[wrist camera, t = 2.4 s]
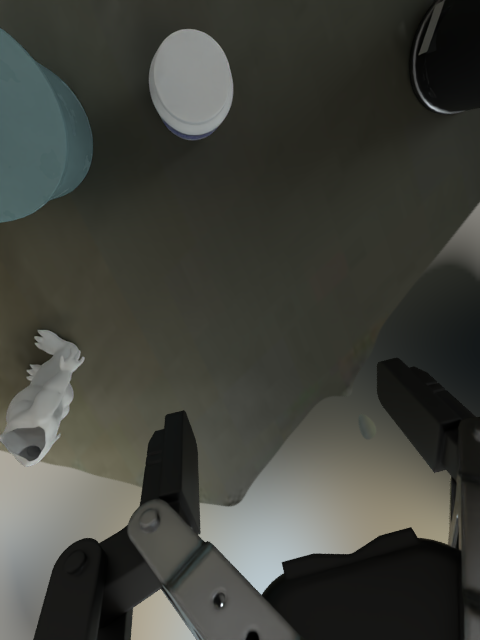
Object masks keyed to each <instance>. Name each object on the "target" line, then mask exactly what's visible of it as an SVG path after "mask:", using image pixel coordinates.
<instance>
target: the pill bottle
mask: <svg viewBox="0 0 480 640" xmlns="http://www.w3.org/2000/svg"><path fill="white" fill-rule="evenodd" d="M149 89H150V94H151V98H152V101H153V104H154V106H155V108H156V110H157V111H158V113H159V115H160V117H161V119H162V121H163V122H164V124H165V125H166V127H167V128H168V129H169V130H170V131H171V132H172V133H174V134H175V135H176V136H178V137H180V138H183V139H186V140H200V139H203V138H205V137H207V136H209V135H210V134H212V133H213V132H214V131H215V130H216V128H217V127H218V126H219V125H220V124H221V123H222V122H223V120H224V119H225V117H226V116H227V114H228V112H229V109H230V107H231V103H232V98H233V80H232V75H231V71H230V67H229V63H228V60H227V58H226V56H225V54H224V52H223V50H222V48H221V47H220V46H219V44H218V43H217V42H216V41H215V40H214V39H213V38H212V37H210V36H209V35H207V34H206V33H204V32H201V31H198V30H194V29H183V30H179V31H176V32H174V33H172V34H171V35H169V36H168V37H167V38H166V39H165V40H164V41H163V42H162V44H161V45H160V47H159V49H158V50H157V52H156V54H155V55H154V58H153V60H152V63H151V66H150V71H149Z"/></svg>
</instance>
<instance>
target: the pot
mask: <svg viewBox="0 0 480 640" xmlns="http://www.w3.org/2000/svg"><path fill="white" fill-rule="evenodd" d="M92 156H93V138H92V132H91V127H90V124H89V121H88V118H87V116H86V113H85V111H84V109H83V107H82V105H81V103H80V102H79V100H78V99H77V97H76V96H75V94H74V93H73V92H72V90H71V89H70V88H69V87H68V86H67V85H66V84H65V83H64V82H63V81H62V80H61V79H60V78H59V77H58V76H57V75H55V74H54V73H53V72H52V71H50V70H49V69H47V68H46V67H44V66H43V65H41V64H39V63H38V62H36V61H35V60H34V59H33V58H32V57H31V56H30V54H29V53H28V52H27V51H26V50H25V49H24V48H23V47H22V46H21V45H20V44H19V43H18V42H17V41H16V40H15V39H14V38H13V37H12V36H10V35H9V34H8V33H6V32H5V31H4V30H3V29H1V28H0V223H1V222H8V221H13V220H16V219H20V218H23V217H25V216H28V215H30V214H32V213H34V212H36V211H37V210H38V209H40V208H41V207H43V206H44V205H45V204H46V203H47V202H48V201H49V200H52V199H56V198H59V197H62V196H64V195H66V194H68V193H70V192H71V191H73V190H74V189H75V188H76V187H77V186H78V185H79V184H80V183H81V182H82V181H83V179H84V178H85V176H86V174H87V173H88V170H89V168H90V165H91V161H92Z"/></svg>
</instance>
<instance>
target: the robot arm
mask: <svg viewBox="0 0 480 640" xmlns="http://www.w3.org/2000/svg"><path fill="white" fill-rule="evenodd" d="M410 77H411V83H412V86H413V89H414V92H415V94H416V96H417V98H418V99H419V101H420V102H421V103H422V104H423V105H424V106H425V107H426V108H427V109H429V110H431V111H433V112H435V113H439V114H454V113H459V112H463V111H466V110H471V109H477V108H480V0H436V2H435V3H434V4H433V5H432V6H431V7H430V9H429V10H428V11H427V13H426V14H425V16H424V18H423V19H422V21H421V23H420V25H419V27H418V30H417V32H416V35H415V38H414V41H413V45H412V49H411V55H410ZM377 394H378V397H379V400H380V402H381V404H382V406H383V407H384V408H385V410H386V411H387V412H388V414H389V415H390V416H391V418H392V419H393V420H394V421H395V423H396V424H397V425H398V427H399V428H400V429H401V430H402V432H403V433H404V434H405V436H406V437H407V438H408V439H409V441H410V442H411V443H412V444H413V446H414V447H415V448H416V450H417V451H418V452H419V454H420V455H421V456H422V457H423V459H424V460H425V461H426V462H427V464H428V465H429V466H430V468H431V469H432V470H433V472H434V473H435V472H439V471H443V470H447V471H448V472H449V474H450V475H451V479H450V518H449V519H450V520H449V522H450V523H449V539H448V545H447V544H444V543H441V542H438V541H434V540H430V539H424V538H417V536H416V534H415V533H414V531H413V529H412V528H411V527H410V528H407V529H403V530H399V531H395V532H392V533H388V534H384V535H381V536H379V537H377V538H375V539H374V540H372V541H371V542H369V543H368V544H366V545H365V546H363V547H362V548H360V549H359V550H357V551H356V552H354V553H352V554H311V555H307V556H303V557H300V558H296V559H292V560H289V561H285V562H282V565H283V570H284V574H282V575H281V576H279V577H278V578H276V579H275V580H274V581H273V582H272V583H271V584H270V585H269V586H268V588H266V590H265V591H264V592H263V594H262V595H261V594H260V593H259V592H258V591H257V590H256V589H255V588H254V587H253V586H252V585H251V584H250V583H249V582H248V581H247V580H246V579H245V577H244V576H243V575H241V573H240V572H239V571H238V570H237V569H236V568H235V567H234V566H233V565H232V564H231V563H230V562H229V561H228V560H227V559H226V558H225V557H224V556H223V555H222V553H221V552H219V550H218V549H217V548H216V547H215V546H214V545H213V544H211V543H210V542H208V541H207V542H204V541H203V540H202V539H201V538H200V537H199V536H198V534H200V508H199V477H198V451H197V444H196V440H195V436H194V434H193V431H192V428H191V425H190V423H189V420H188V417H187V414H186V412H185V411H184V410H183V411H179V412H175V413H171V414H167V415H166V416H165V426H164V429H162V430H158V431H155V432H154V434H153V436H152V438H151V439H150V441H149V443H148V450H147V458H146V467H145V472H144V480H143V487H142V495H141V502H140V506H139V508H138V509H137V510H136V511H135V512H134V513H133V515H132V516H131V518H130V521H129V523H128V525H127V526H126V527H125V528H123V529H122V530H121V531H119V532H118V533H116V534H114V535H112V536H111V537H109V538H108V539H106V540H104V541H102V542H101V543H98V542H97V541H96V540H94V539H92V538H85V539H82V540H79V541H77V542H75V543H73V544H72V545H70V546H69V547H68V548H67V549H66V550H65V551H64V552H63V553H62V554H61V555H60V557H59V558H58V560H57V561H56V563H55V565H54V568H53V570H52V574H51V577H50V582H49V585H48V588H47V592H46V596H45V599H44V603H43V607H42V610H41V614H40V618H39V621H38V625H37V629H36V632H35V636H34V639H33V640H131V627H132V613H133V607H135V606H136V605H138V604H139V603H141V602H142V601H144V600H145V599H146V598H148V597H149V596H151V595H152V594H154V593H155V592H157V591H158V590H160V589H161V590H162V591H163V592H164V594H165V595H166V597H167V598H168V600H169V601H170V603H171V604H172V605H173V607H174V608H175V609H176V611H177V612H178V614H179V615H180V617H181V618H182V620H183V621H184V622H185V624H186V625H187V627H188V628H189V630H190V631H191V632H192V634H193V635H194V637H195V638H196V640H480V417H476V416H474V415H473V414H472V413H471V412H470V411H469V410H468V409H467V408H466V407H465V406H463V405H462V404H461V403H460V402H459V401H458V400H457V399H456V398H454V397H453V396H452V395H451V394H450V393H449V392H448V391H446V390H445V389H444V387H442V386H441V385H440V384H439V383H437V381H436V380H435V379H434V378H433V377H431V376H430V375H429V374H428V373H427V372H425V371H422V370H420V369H418V368H416V367H410V368H409V367H408V366H406V365H405V364H404V363H403V362H402V361H401V360H400V359H399V358H393V359H389V360H386V361H381V362H378V364H377Z"/></svg>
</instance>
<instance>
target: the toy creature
mask: <svg viewBox="0 0 480 640" xmlns="http://www.w3.org/2000/svg"><path fill="white" fill-rule="evenodd" d="M37 331H38V333H39V334H40V335H41V336H42V337H39V336H35V337H34V338H35V340H36V341H37V342H38V343H35V345H36V346H37V347H38V348H39V349H42V350H44V351H45V352H47V353H49V354H51V355H54V356H53V357H52V358H51V359H50V360H48V361H47V362H45V363H44V364H42V365H38V364H35V365H32V364H30V366H31V368H32V369H30V370H27V372H28V373H29V374H30V375H31V376H28V377H26V378H27V379H28V380H31V383H30V386H28V387H26V388H25V389H23V390H22V391H21V392H19V393H18V394H17V395H16V396H15V397H14V398H13V400H12V401H11V403H10V405H9V407H8V410H7V414H6V421H7V425H6V427H5V430H4V432H3V433H2V434H1V436H0V441H1V442H2V443H3V444H4V445H5V447H6V448H7V450H8V451H9V452H10V453H11V454H12V455H13V456H14V457H15V458H16V459H17V460H18V461H19V462H20V463H21V464H22V465H24V466H27V467H28V466H32V465H35V464H37V463H38V462H40V461H41V460H42V458H43V457H44V456H45V455H46V454H47V452H48V451H49V450H50V448H51V446H52V445H53V444H54V442H55V441H56V440H57V439H59V438H60V436H61V433H59V434H58V436H56V435H57V431H58V428H59V425H60V422H61V420H62V419H63V418H64V417H65V416H66V415H67V414H68V412H69V404H70V403H71V402H72V400H73V388H72V386H71V384H70V383H69V382H70V380H71V376H72V372H74V371H75V370H76V369H77V368H78V366H80V365H81V364H82V363H83V361H84V359H85V358H84V357H82V358H81V359H80V360H79V361H78V359H79V357H80V354H81V351H80V350H78V348H77V346H76V345H75V344H73V343H71V342H68V341H65V340H63V339H61V338H59V337H58V336H57V335H56V334H55V333H53V332H51V331H49V330H37Z"/></svg>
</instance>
